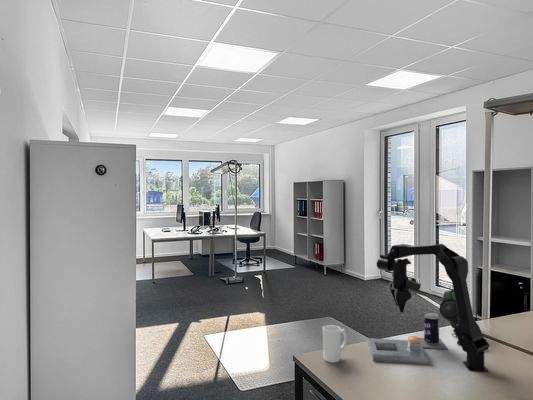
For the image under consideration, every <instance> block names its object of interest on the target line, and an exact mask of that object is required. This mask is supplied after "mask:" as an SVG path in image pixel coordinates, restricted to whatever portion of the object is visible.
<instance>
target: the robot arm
mask: <svg viewBox="0 0 533 400" xmlns="http://www.w3.org/2000/svg"><path fill="white" fill-rule="evenodd" d="M419 255H420V256H421V255H422V256H423V255H435V257H436V259H437V260H438V262H439V263H440V264H441V265H442V266H443V267H444V269H445V270H444V271H445V274H446V275H447V276H448V278H449V279H450V281H451V283H452V288H453V289H452V290H454V294H455V299H456V305H457V310H458V315H459V324H457V325H455V326H454V327H455V331H456V333H455V338H456V337H458V338H457V341H458V340H459V342H460V343H461V344H460V346H461V349H462V351H463V352H464V353H465V352H466V360H465V361H464V360H463V361H462V362H463V364H464V366H465V367H466V368H467V370H469V371H471V372H488V373H489V369H488V367H487V366H486V365H485V361H486V360H485V359H486V358H485V351H488V350H489V348H490V346H491V345H490V344H489V342H488V341H487V339H485V337H484V336H483V333H482V330H481V328H480V327H481V326H480V325H479V324H478V323H477V321H476V320H475V318H474V313H473V307H472V303H471V299H470V293H469V289H468V288H469V287H468V283H467V277H468V275H469V261H468V260H467V259H466V258H465V257H464V256H461V255H459V253H457V252H455V251H454V250H452V249H450V248H449V247H447V245H445V244H443V243H435V244H428V245H427V244H425V245H411V244H405V243H402V244H401V243H400V244H393V245H391V247H390V251H389V252H388V253H387V254H380V255H379V257H378V259H377V261H376V267H377V269H378V270H380V271H386V272H390V273H391V272H392V273H391V277H392V280H391V281H390V282H389V283H388V287H389V291H390V294H391V295H392V298H393V300H394V303H395V305H396V307H398V309H399V312H400V313H403V314H404V311H405V306H406V304H407V301H409V300H411V299H412V294H413V293H412V292H411V291H410V290H413V291H416V292H417V293H418V292H420V289H421V286H422V284H421V283H419V282H418V281H417V279H416V278H415V277H411V278H409V277H408V273H407V271H408V270H407V265H411V264H412V262H411V261H410V260H409V258H407V257H410V256H419ZM402 258H403V259H402ZM409 289H410V290H409Z"/></svg>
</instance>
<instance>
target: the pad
mask: <svg viewBox="0 0 533 400" xmlns="http://www.w3.org/2000/svg"><path fill="white" fill-rule="evenodd" d="M419 338H420V344H421V346H422V347H423V349H427V348H433V349H432V350H447V351H448V350H449V348H448V347H447V345H446V344H445V342H443V340H442V339H441V338H439V343H437V344H436V345H431V344H428V343H426V341H425V340H424V337H419Z"/></svg>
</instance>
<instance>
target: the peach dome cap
mask: <svg viewBox="0 0 533 400" xmlns="http://www.w3.org/2000/svg"><path fill="white" fill-rule="evenodd" d="M420 338H421V337H418V336H416V335H410V336H408V338H407V340H408V342H409V343H411V344H420Z"/></svg>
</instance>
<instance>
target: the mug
mask: <svg viewBox="0 0 533 400" xmlns="http://www.w3.org/2000/svg"><path fill="white" fill-rule="evenodd" d="M341 334H342V335H343V339H344V340H343V342H342V345H341ZM347 342H348V336H347V333H346V329H345V328H341V327H340V326H337V325H334V324H327V325H324V326H322V352H323V360H324V361H326V362H327V363H332V364H333V363H338V362H340V360H341V351H345V348H346V345H347Z"/></svg>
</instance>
